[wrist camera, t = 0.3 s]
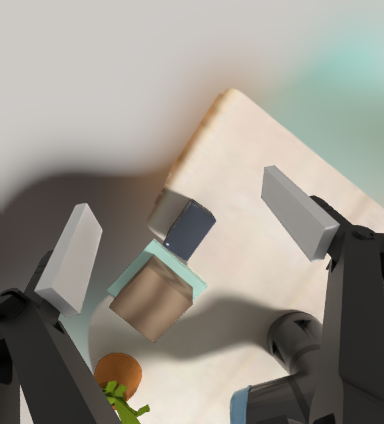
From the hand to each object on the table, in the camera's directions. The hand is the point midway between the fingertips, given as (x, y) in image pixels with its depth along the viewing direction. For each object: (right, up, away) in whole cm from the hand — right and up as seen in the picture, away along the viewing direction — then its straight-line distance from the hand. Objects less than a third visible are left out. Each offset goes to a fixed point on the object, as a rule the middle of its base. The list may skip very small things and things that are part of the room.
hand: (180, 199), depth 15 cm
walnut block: (-8, -20, +35) cm, 42 cm away
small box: (0, -4, +35) cm, 35 cm away
